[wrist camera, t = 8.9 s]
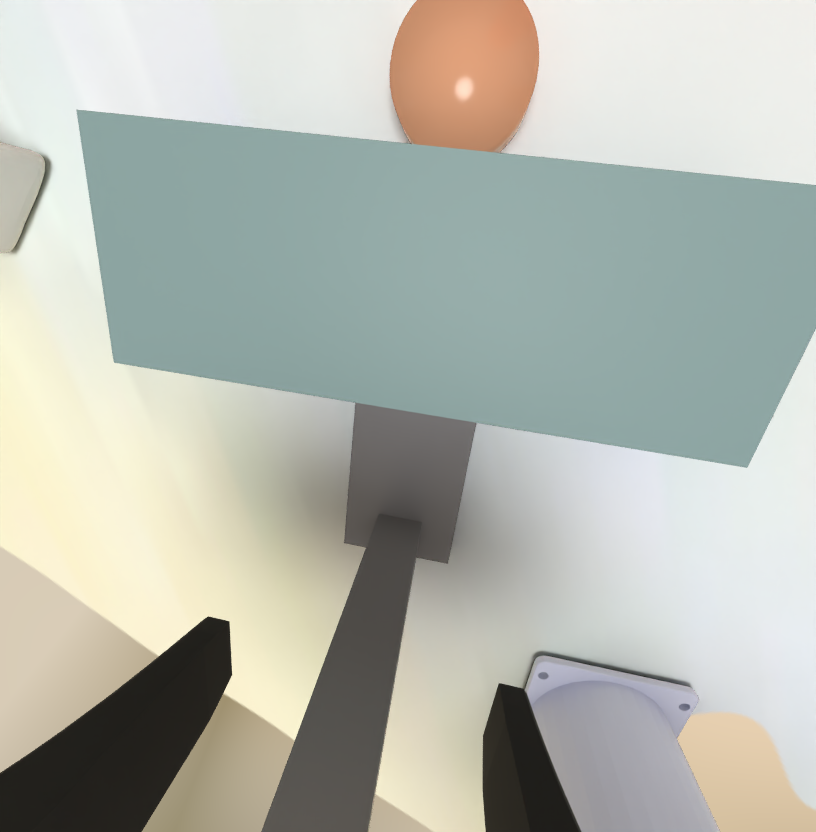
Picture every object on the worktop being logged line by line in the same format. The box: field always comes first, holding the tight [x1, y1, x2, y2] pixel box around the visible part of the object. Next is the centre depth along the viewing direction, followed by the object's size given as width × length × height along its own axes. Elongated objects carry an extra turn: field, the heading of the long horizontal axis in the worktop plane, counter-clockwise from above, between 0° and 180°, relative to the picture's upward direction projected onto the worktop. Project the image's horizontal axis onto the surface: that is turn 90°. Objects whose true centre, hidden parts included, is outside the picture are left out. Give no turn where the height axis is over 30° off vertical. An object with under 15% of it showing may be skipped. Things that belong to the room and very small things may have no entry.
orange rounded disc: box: [390, 0, 539, 153], centre depth 12 cm, size 4×4×2 cm
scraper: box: [262, 403, 476, 832], centre depth 11 cm, size 11×5×12 cm, turn 173°
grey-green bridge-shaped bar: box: [77, 110, 816, 468], centre depth 13 cm, size 7×20×4 cm, turn 83°
